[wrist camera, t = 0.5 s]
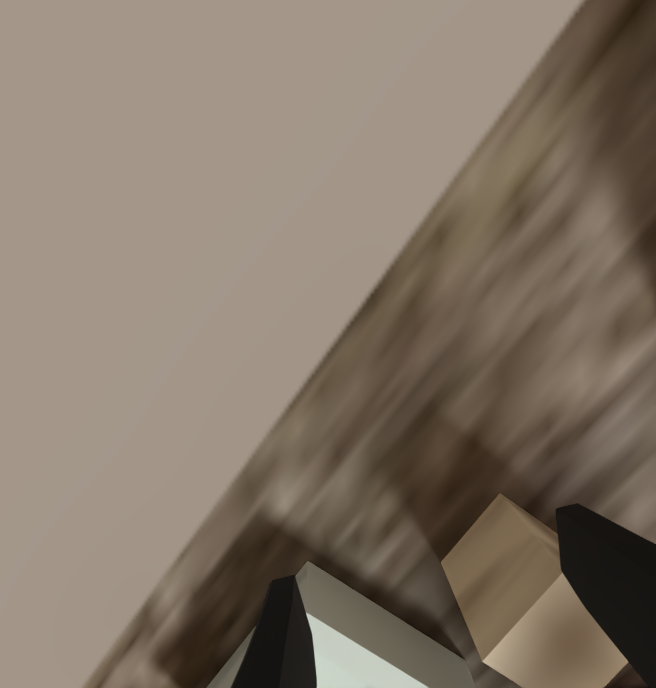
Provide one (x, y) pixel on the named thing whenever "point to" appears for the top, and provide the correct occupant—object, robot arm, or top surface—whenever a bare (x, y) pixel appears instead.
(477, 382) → the top surface
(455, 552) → the block
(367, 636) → the dish
